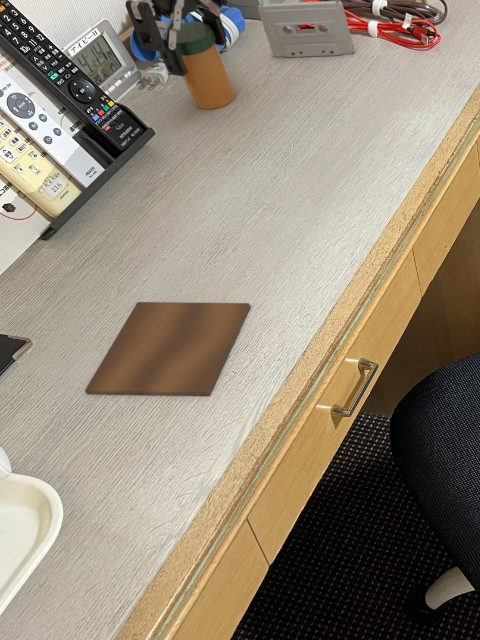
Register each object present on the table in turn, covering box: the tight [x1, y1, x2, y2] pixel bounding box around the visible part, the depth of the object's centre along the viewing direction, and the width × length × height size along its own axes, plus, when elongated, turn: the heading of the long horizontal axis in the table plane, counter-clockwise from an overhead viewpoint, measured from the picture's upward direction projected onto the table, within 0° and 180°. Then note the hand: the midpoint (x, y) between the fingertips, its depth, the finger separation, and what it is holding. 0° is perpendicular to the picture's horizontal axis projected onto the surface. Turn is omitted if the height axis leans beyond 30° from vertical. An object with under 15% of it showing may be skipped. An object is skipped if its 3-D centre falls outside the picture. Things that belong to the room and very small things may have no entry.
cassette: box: [257, 0, 355, 58], centre depth 120 cm, size 12×2×8 cm, turn 92°
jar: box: [181, 42, 236, 110], centre depth 111 cm, size 6×6×10 cm
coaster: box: [84, 301, 251, 397], centre depth 82 cm, size 12×12×1 cm
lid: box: [163, 21, 216, 55], centre depth 108 cm, size 6×6×2 cm
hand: (200, 58), depth 108 cm, fingers open, 8 cm apart
